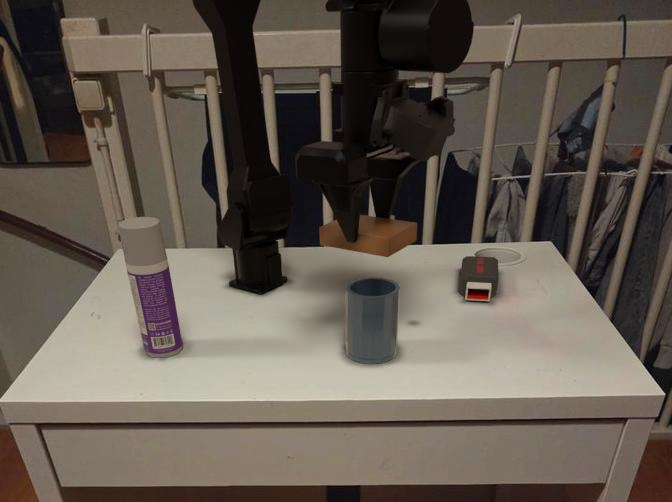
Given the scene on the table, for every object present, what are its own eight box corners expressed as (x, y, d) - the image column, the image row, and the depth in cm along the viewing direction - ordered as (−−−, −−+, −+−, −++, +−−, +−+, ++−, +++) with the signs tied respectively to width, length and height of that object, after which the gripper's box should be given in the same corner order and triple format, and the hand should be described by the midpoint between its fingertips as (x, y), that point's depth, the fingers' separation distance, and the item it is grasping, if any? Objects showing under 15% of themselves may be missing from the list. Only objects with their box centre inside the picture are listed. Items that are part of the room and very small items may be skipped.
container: (189, 343, 78) (168, 217, 68) (171, 360, 74) (146, 230, 65) (157, 338, 79) (132, 215, 70) (137, 355, 76) (108, 227, 66)
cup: (336, 355, 74) (335, 290, 69) (363, 337, 78) (364, 273, 73) (379, 368, 71) (382, 301, 66) (405, 348, 75) (409, 283, 70)
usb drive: (496, 272, 94) (499, 253, 92) (496, 303, 84) (499, 283, 83) (461, 270, 95) (463, 252, 93) (457, 301, 85) (460, 281, 84)
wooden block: (319, 245, 71) (319, 227, 70) (350, 230, 75) (350, 213, 74) (388, 257, 67) (388, 238, 65) (416, 241, 71) (417, 222, 70)
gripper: (394, 81, 51) (388, 270, 61) (485, 61, 63) (468, 222, 72) (287, 79, 56) (297, 253, 66) (389, 60, 68) (385, 211, 78)
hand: (367, 234), depth 70 cm, fingers closed on wooden block, 6 cm apart
